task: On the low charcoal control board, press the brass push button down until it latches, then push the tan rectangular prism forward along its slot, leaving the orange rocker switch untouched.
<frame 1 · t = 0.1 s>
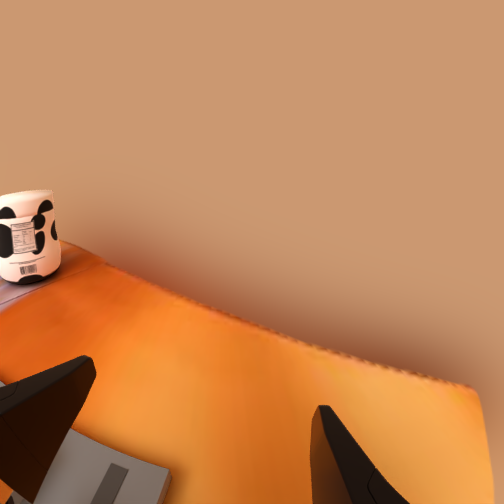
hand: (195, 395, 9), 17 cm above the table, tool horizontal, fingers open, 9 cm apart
milk container: (31, 274, 46), on the table
panel: (15, 480, 9), on the table
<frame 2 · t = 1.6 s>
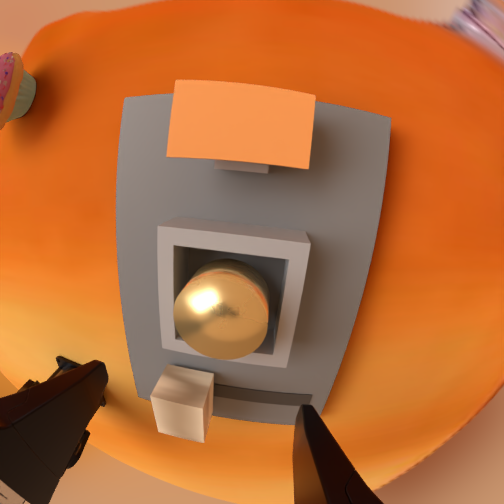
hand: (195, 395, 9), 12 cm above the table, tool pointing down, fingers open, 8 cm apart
cupcake: (26, 96, 17), on the table
button: (224, 308, 15), point 6 cm above the table, slide at 0.0 cm
panel: (236, 285, 21), on the table
rocker: (241, 123, 13), point 5 cm above the table, hinge at 12.0°
tan rectangular prism: (184, 404, 19), point 4 cm above the table, slide at 0.0 cm
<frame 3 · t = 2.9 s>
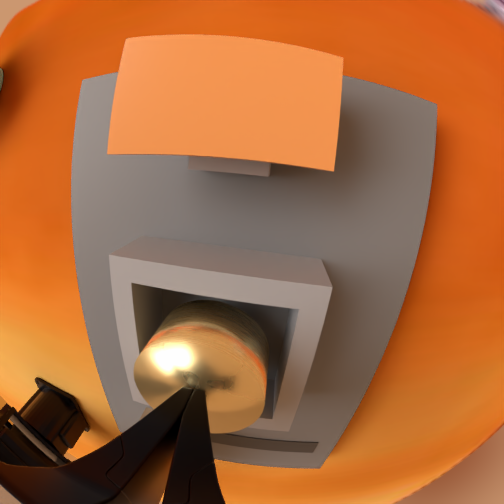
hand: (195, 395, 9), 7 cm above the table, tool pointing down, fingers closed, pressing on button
button: (205, 370, 10), point 5 cm above the table, slide at -0.1 cm, touching gripper
panel: (227, 322, 16), on the table
rocker: (226, 97, 8), point 5 cm above the table, hinge at 12.0°
tan rectangular prism: (168, 452, 15), point 4 cm above the table, slide at 0.0 cm
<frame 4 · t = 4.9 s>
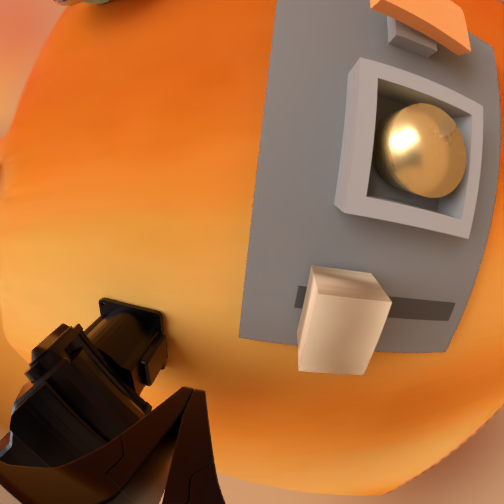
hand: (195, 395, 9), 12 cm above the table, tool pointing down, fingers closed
button: (419, 150, 12), point 4 cm above the table, slide at -1.5 cm
panel: (391, 166, 16), on the table
rocker: (422, 6, 8), point 5 cm above the table, hinge at 12.0°
tan rectangular prism: (338, 320, 15), point 4 cm above the table, slide at 0.0 cm
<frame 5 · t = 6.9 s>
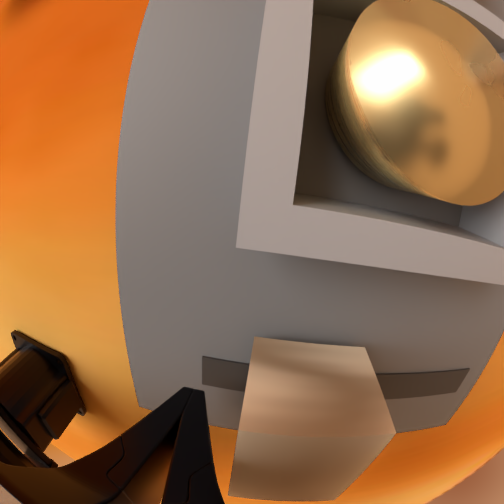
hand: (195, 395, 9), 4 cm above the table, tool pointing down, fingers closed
button: (427, 101, 5), point 4 cm above the table, slide at -1.5 cm
panel: (375, 146, 9), on the table
tan rectangular prism: (298, 430, 8), point 4 cm above the table, slide at 1.4 cm, touching gripper
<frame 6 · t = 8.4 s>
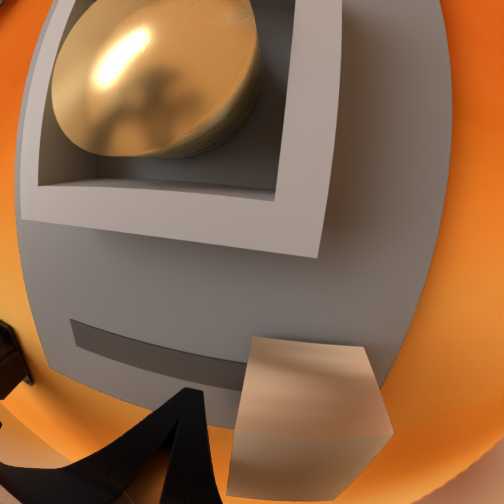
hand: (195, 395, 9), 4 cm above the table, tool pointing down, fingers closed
button: (160, 64, 5), point 4 cm above the table, slide at -1.5 cm
panel: (199, 122, 9), on the table
tan rectangular prism: (296, 430, 8), point 5 cm above the table, slide at 8.1 cm, touching gripper
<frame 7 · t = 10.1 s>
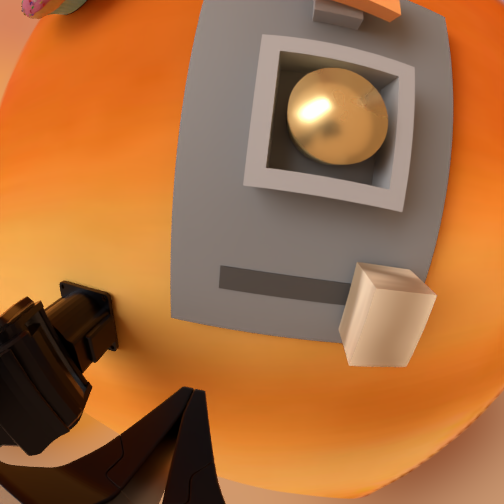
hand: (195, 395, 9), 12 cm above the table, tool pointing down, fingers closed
button: (334, 119, 13), point 4 cm above the table, slide at -1.5 cm
panel: (321, 143, 17), on the table
tan rectangular prism: (383, 315, 15), point 5 cm above the table, slide at 8.0 cm
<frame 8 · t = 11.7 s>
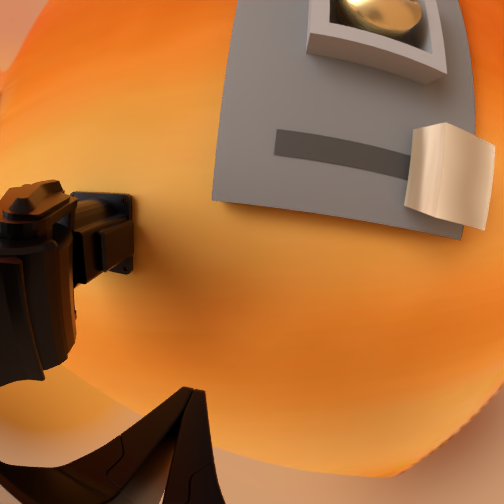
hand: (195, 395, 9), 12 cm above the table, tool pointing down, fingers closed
button: (377, 6, 10), point 4 cm above the table, slide at -1.5 cm
panel: (362, 40, 14), on the table
tan rectangular prism: (450, 176, 12), point 5 cm above the table, slide at 8.0 cm
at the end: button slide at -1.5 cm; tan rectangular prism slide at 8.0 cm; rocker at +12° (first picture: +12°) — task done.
